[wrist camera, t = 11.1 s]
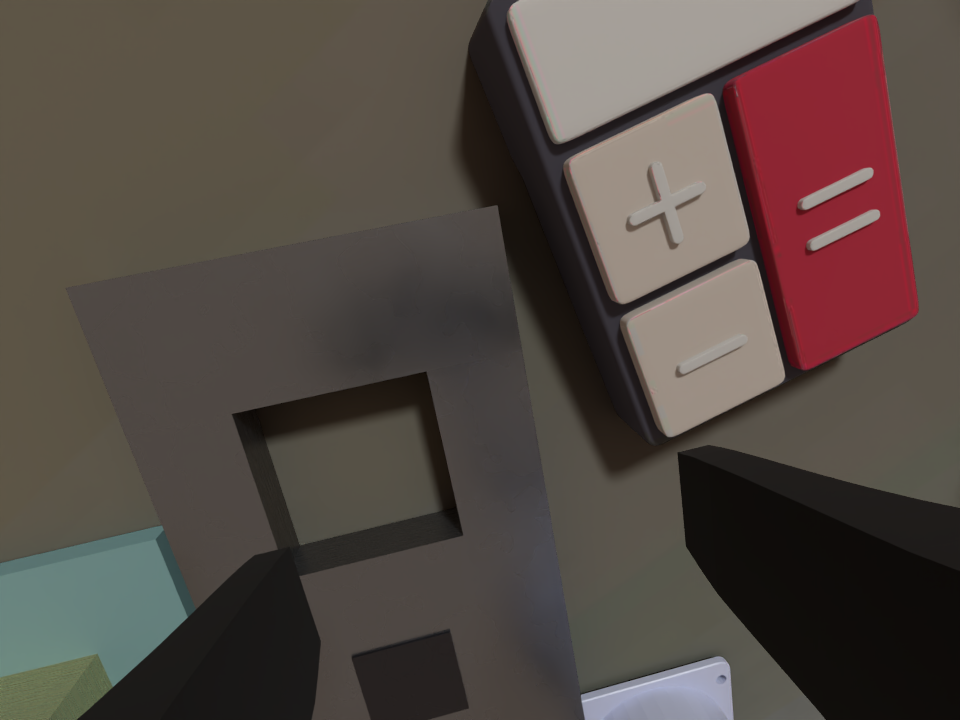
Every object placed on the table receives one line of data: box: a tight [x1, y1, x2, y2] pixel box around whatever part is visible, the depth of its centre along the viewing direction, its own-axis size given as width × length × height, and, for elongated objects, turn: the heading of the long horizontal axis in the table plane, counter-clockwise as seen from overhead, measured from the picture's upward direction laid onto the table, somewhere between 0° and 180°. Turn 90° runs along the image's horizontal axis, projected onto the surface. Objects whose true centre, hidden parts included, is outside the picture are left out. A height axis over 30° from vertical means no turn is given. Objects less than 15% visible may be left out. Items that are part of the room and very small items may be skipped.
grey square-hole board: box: [66, 205, 585, 720], centre depth 19 cm, size 22×13×2 cm, turn 11°
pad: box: [0, 525, 196, 687], centre depth 20 cm, size 12×11×1 cm
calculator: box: [469, 0, 919, 446], centre depth 17 cm, size 11×4×15 cm
